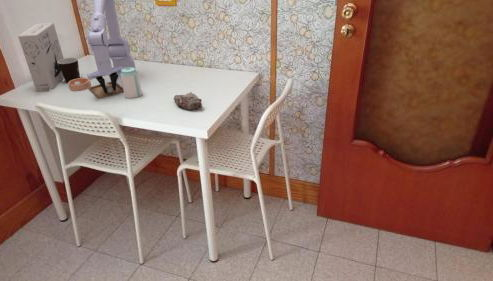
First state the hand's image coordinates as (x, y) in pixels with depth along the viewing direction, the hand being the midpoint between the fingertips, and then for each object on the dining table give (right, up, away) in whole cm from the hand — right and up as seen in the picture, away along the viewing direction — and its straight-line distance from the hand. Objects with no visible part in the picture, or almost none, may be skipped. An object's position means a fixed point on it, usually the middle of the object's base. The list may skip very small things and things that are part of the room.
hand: (110, 91), depth 164 cm
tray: (-3, 0, +4) cm, 5 cm away
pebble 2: (0, -1, 0) cm, 1 cm away
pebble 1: (-16, +2, +7) cm, 18 cm away
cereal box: (-32, +6, +16) cm, 37 cm away
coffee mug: (-23, +7, +18) cm, 30 cm away
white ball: (-3, +1, +4) cm, 5 cm away
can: (+10, -2, -1) cm, 11 cm away
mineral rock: (+35, -7, -11) cm, 37 cm away
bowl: (-16, +2, +8) cm, 18 cm away
